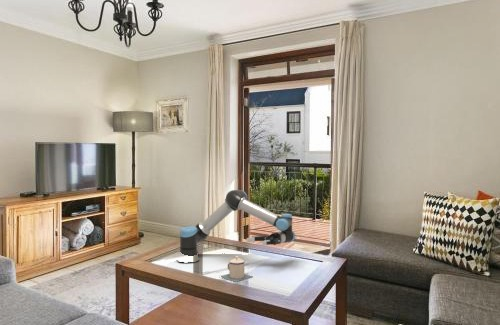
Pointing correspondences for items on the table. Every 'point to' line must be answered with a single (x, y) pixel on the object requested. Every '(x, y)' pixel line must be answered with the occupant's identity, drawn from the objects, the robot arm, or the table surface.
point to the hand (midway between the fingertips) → (254, 241)
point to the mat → (235, 279)
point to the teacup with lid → (236, 268)
